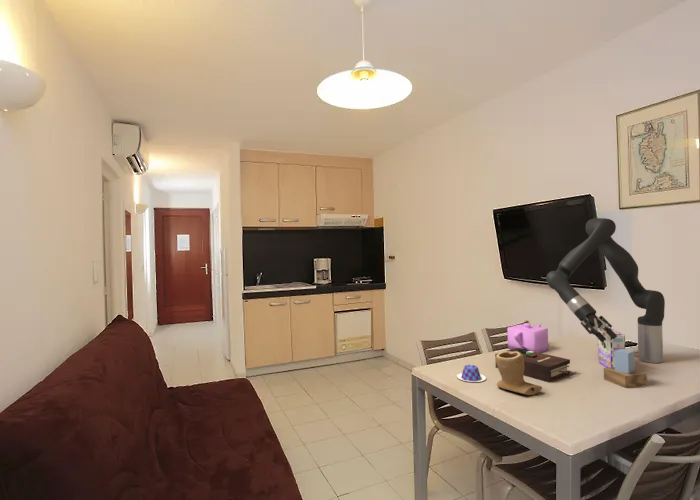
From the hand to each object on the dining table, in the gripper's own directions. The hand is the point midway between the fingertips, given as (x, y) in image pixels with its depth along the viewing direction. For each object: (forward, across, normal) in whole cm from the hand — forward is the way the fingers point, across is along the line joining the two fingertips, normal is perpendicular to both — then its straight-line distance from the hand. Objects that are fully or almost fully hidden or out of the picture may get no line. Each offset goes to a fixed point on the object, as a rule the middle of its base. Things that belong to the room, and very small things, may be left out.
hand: (609, 339), depth 162 cm
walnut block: (+16, 0, +8) cm, 18 cm away
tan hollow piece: (+3, -43, +21) cm, 48 cm away
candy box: (+6, +16, +17) cm, 24 cm away
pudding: (-11, -46, +35) cm, 59 cm away
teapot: (-21, +13, +45) cm, 52 cm away
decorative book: (-5, -17, +29) cm, 34 cm away
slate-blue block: (+12, 0, +4) cm, 13 cm away
